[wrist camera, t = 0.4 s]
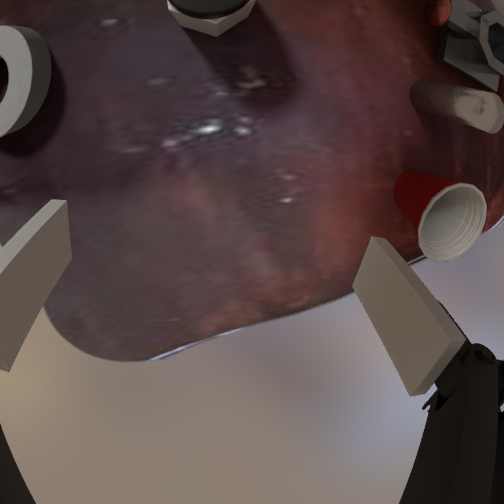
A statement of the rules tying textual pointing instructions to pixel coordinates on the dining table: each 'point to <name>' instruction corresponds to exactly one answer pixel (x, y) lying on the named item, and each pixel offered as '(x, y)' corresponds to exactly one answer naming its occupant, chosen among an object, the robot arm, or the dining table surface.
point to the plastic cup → (441, 213)
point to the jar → (210, 14)
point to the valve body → (469, 40)
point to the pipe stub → (459, 104)
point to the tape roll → (23, 76)
